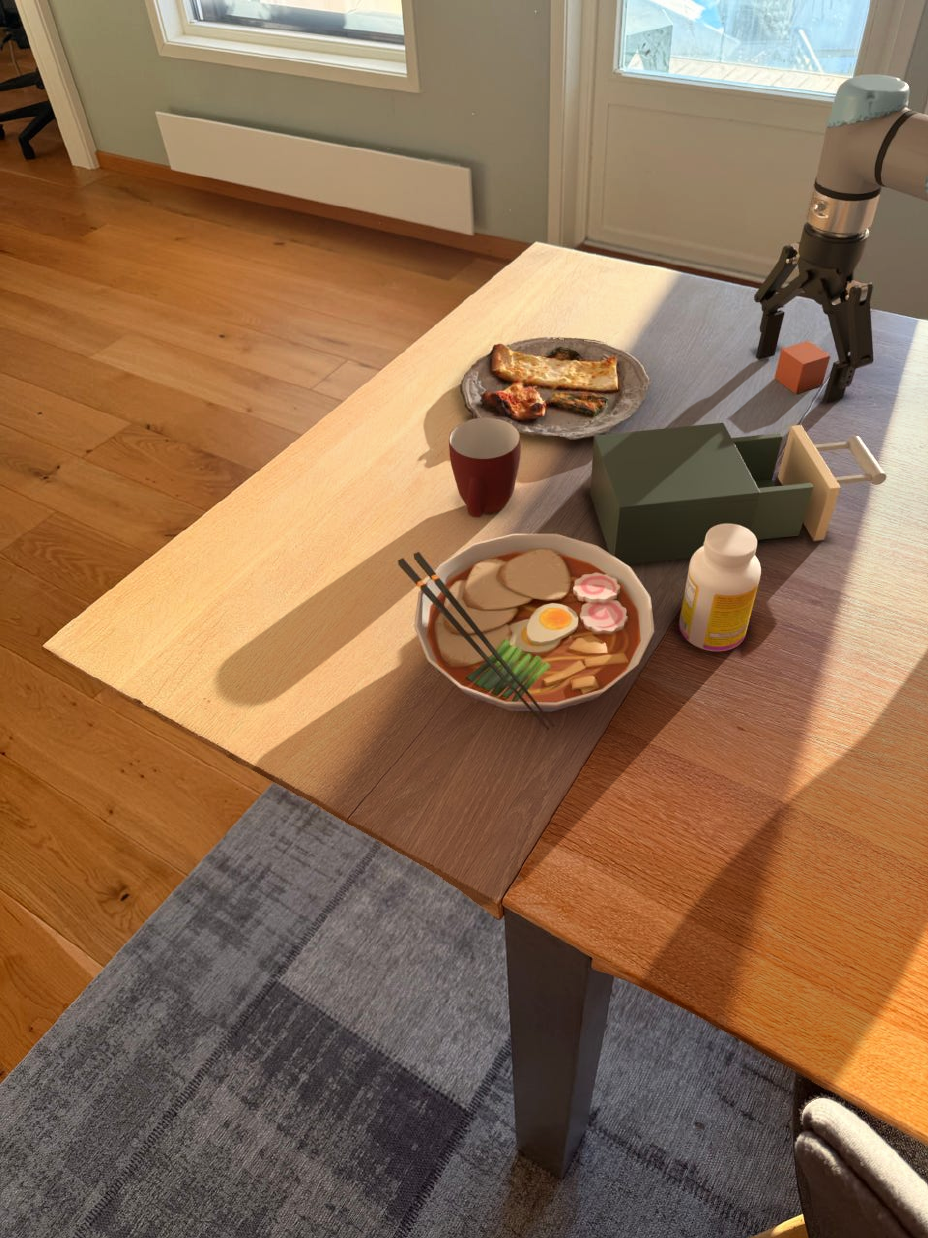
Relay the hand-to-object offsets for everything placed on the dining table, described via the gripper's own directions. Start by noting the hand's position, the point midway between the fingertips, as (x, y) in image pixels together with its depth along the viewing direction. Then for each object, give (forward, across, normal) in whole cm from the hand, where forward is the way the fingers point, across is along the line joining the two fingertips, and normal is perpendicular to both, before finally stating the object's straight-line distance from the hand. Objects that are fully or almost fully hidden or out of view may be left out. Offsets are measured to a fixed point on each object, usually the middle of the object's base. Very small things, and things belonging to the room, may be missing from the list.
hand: (796, 380), depth 124 cm
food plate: (0, -13, -31) cm, 34 cm away
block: (0, 0, 0) cm, 0 cm away
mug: (0, +5, -50) cm, 50 cm away
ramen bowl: (0, +28, -56) cm, 63 cm away
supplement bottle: (0, +33, -38) cm, 50 cm away
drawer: (-1, +21, -21) cm, 30 cm away
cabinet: (0, +17, -33) cm, 37 cm away
